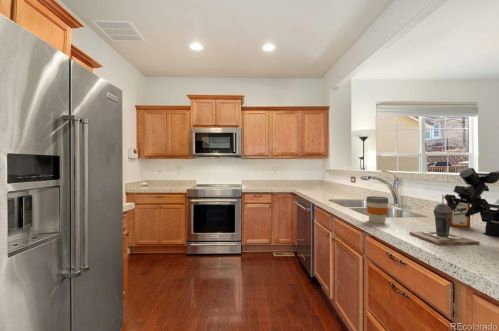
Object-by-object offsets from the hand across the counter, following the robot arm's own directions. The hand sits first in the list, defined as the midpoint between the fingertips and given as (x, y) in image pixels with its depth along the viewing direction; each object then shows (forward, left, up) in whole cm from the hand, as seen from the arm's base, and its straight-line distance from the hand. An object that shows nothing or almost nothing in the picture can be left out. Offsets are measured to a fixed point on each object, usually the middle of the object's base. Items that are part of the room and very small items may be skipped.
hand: (455, 214), depth 125 cm
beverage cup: (+8, +1, -10) cm, 13 cm away
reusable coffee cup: (+18, -37, -12) cm, 43 cm away
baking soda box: (-24, -24, -12) cm, 36 cm away
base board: (+8, +1, -12) cm, 14 cm away
